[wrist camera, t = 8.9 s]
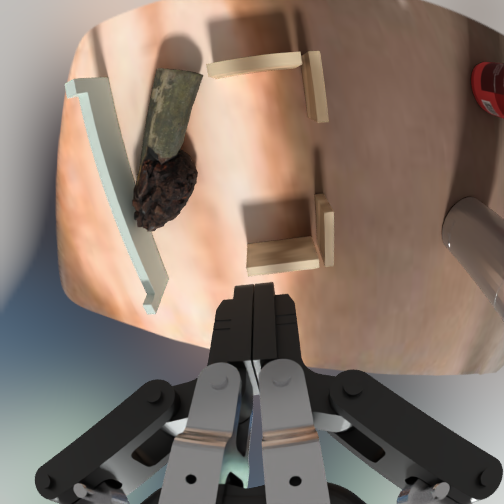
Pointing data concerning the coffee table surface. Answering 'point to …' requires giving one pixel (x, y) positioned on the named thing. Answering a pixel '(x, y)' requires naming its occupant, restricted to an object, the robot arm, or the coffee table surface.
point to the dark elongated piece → (166, 150)
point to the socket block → (303, 249)
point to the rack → (119, 182)
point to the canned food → (489, 87)
